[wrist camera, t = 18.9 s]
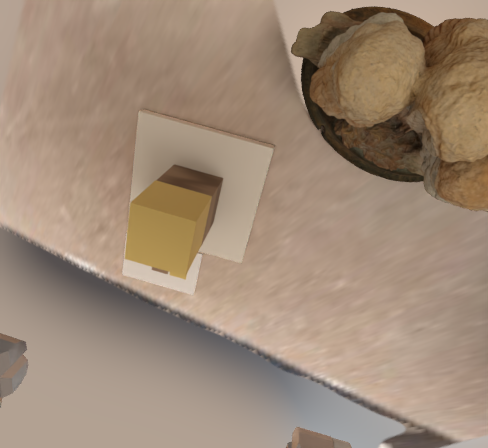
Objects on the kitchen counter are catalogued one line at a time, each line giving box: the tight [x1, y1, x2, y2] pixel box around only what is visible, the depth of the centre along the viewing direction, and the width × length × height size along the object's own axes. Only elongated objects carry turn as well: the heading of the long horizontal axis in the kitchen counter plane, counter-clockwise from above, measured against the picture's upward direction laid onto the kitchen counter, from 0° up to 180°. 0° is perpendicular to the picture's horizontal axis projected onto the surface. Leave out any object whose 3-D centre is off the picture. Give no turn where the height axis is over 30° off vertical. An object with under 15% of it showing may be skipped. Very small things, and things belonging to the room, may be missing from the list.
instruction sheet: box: [122, 232, 203, 295], centre depth 42 cm, size 9×6×1 cm, turn 76°
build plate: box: [127, 109, 275, 264], centre depth 37 cm, size 13×13×1 cm
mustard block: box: [125, 180, 212, 276], centre depth 29 cm, size 5×5×5 cm
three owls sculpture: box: [291, 7, 488, 212], centre depth 23 cm, size 18×12×17 cm, turn 58°
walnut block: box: [157, 164, 223, 246], centre depth 34 cm, size 5×5×5 cm
